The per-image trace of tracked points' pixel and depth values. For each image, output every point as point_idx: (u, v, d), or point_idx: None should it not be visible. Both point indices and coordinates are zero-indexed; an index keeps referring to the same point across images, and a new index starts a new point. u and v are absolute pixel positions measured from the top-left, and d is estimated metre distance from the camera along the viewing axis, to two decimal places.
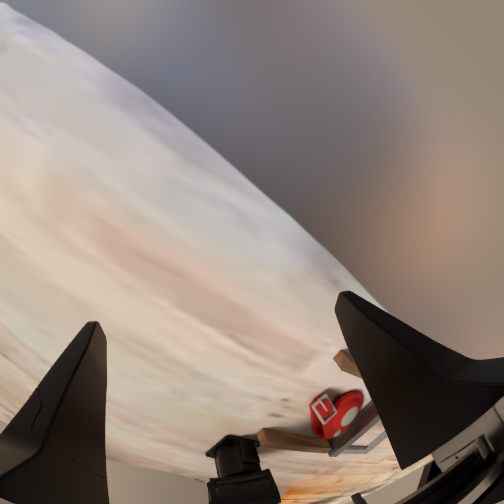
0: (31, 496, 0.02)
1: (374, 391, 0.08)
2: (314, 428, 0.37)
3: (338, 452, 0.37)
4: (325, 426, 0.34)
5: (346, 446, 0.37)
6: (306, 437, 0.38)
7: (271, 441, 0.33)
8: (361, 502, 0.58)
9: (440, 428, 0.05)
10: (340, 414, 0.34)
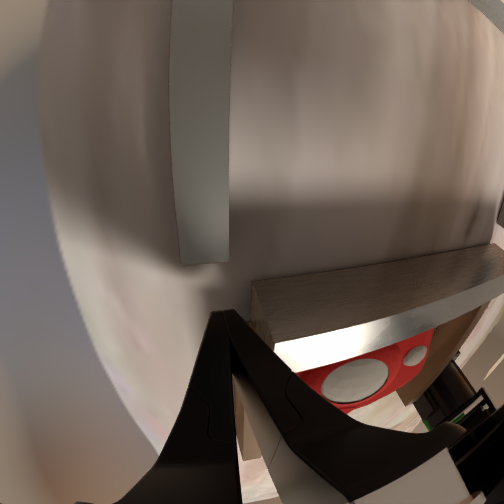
0: None
1: (253, 426, 0.07)
2: None
3: None
4: None
5: (501, 283, 0.11)
6: (439, 331, 0.18)
7: (409, 401, 0.21)
8: None
9: (298, 495, 0.04)
10: (338, 405, 0.14)
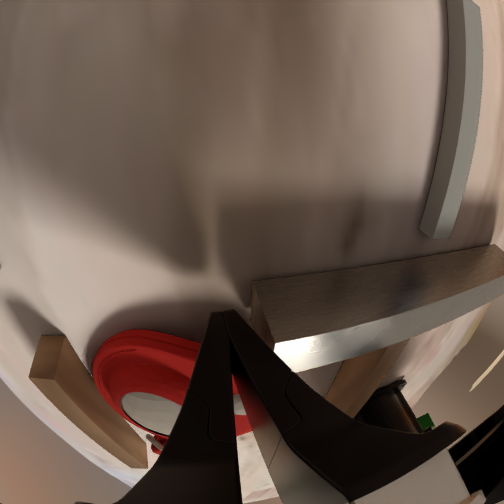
0: None
1: (253, 426, 0.07)
2: None
3: None
4: None
5: (500, 284, 0.11)
6: (345, 367, 0.16)
7: None
8: None
9: (298, 495, 0.04)
10: None
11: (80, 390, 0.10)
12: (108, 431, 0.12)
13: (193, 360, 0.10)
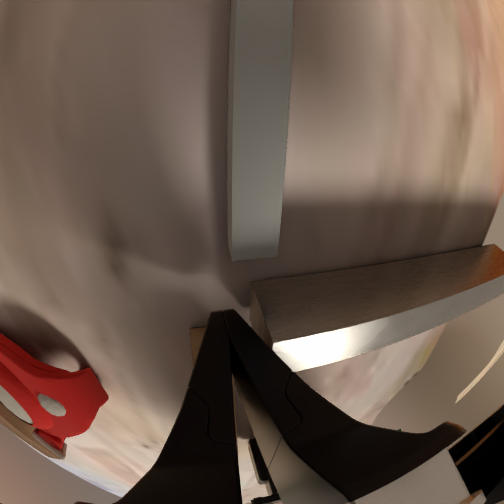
0: None
1: (253, 426, 0.07)
2: None
3: None
4: None
5: (500, 284, 0.11)
6: None
7: None
8: None
9: (298, 495, 0.04)
10: None
11: None
12: (4, 415, 0.10)
13: (3, 355, 0.08)
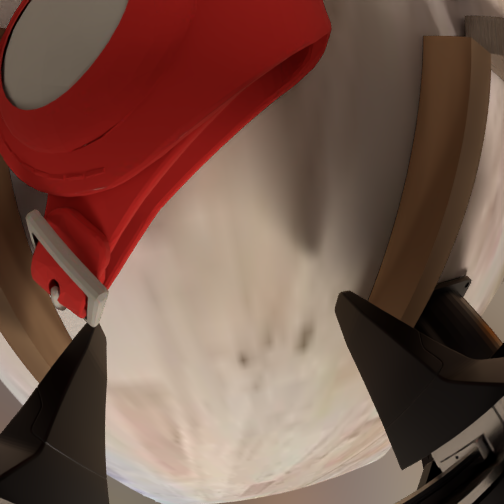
0: (31, 496, 0.02)
1: (374, 391, 0.08)
2: (274, 92, 0.07)
3: None
4: (170, 146, 0.05)
5: None
6: (414, 164, 0.09)
7: None
8: None
9: (440, 428, 0.05)
10: (42, 138, 0.04)
11: None
12: None
13: None
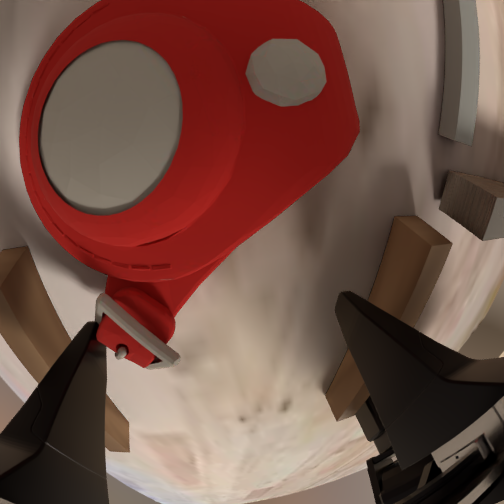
0: (31, 496, 0.02)
1: (374, 391, 0.08)
2: None
3: None
4: None
5: None
6: None
7: (340, 415, 0.16)
8: None
9: (440, 428, 0.05)
10: (105, 237, 0.06)
11: (36, 321, 0.08)
12: None
13: None
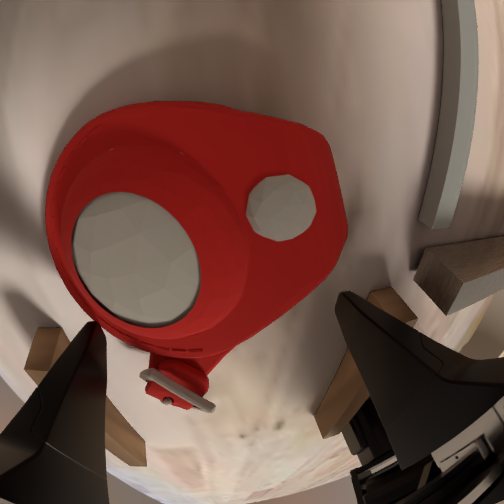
0: (31, 496, 0.02)
1: (374, 391, 0.08)
2: None
3: None
4: None
5: None
6: (345, 362, 0.16)
7: (326, 434, 0.19)
8: None
9: (440, 428, 0.05)
10: None
11: None
12: (105, 427, 0.12)
13: (186, 106, 0.06)
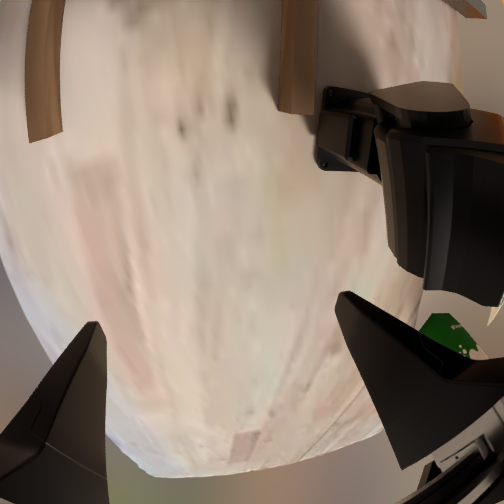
0: (31, 496, 0.02)
1: (374, 391, 0.08)
2: None
3: (479, 4, 0.10)
4: None
5: None
6: None
7: (292, 99, 0.15)
8: None
9: (440, 428, 0.05)
10: None
11: None
12: (50, 13, 0.08)
13: None
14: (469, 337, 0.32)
